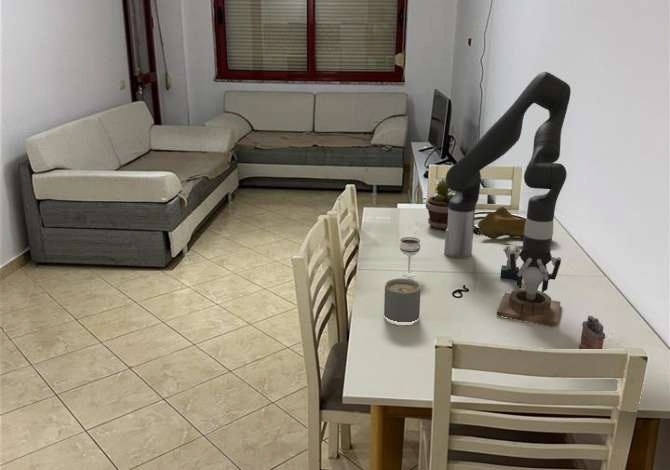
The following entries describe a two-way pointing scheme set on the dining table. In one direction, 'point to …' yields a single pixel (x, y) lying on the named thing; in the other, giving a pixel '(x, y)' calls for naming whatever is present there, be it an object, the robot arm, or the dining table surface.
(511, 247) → the watch
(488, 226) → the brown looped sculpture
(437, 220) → the flowerpot
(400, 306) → the coffee mug
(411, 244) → the wineglass
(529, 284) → the lightbulb
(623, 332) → the dining table surface
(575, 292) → the dining table surface
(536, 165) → the robot arm
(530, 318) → the lamp socket
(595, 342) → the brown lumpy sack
